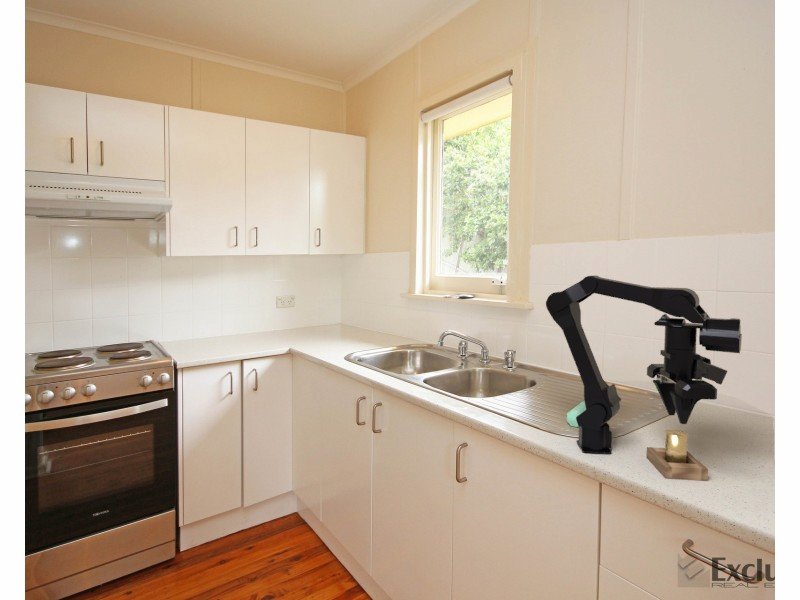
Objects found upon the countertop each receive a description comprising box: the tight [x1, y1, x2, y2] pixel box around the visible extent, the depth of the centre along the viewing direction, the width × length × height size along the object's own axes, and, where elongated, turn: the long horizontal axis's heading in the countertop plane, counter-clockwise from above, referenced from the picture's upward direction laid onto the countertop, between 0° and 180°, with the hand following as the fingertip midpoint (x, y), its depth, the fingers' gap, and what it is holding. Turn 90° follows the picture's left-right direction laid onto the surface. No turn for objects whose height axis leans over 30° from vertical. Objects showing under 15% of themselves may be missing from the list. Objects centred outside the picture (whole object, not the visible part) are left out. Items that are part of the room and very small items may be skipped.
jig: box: [646, 446, 709, 482], centre depth 97 cm, size 8×10×2 cm
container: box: [566, 400, 586, 428], centre depth 131 cm, size 6×6×25 cm
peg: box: [664, 428, 688, 463], centre depth 97 cm, size 4×4×8 cm
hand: (677, 419), depth 96 cm, fingers open, 5 cm apart
